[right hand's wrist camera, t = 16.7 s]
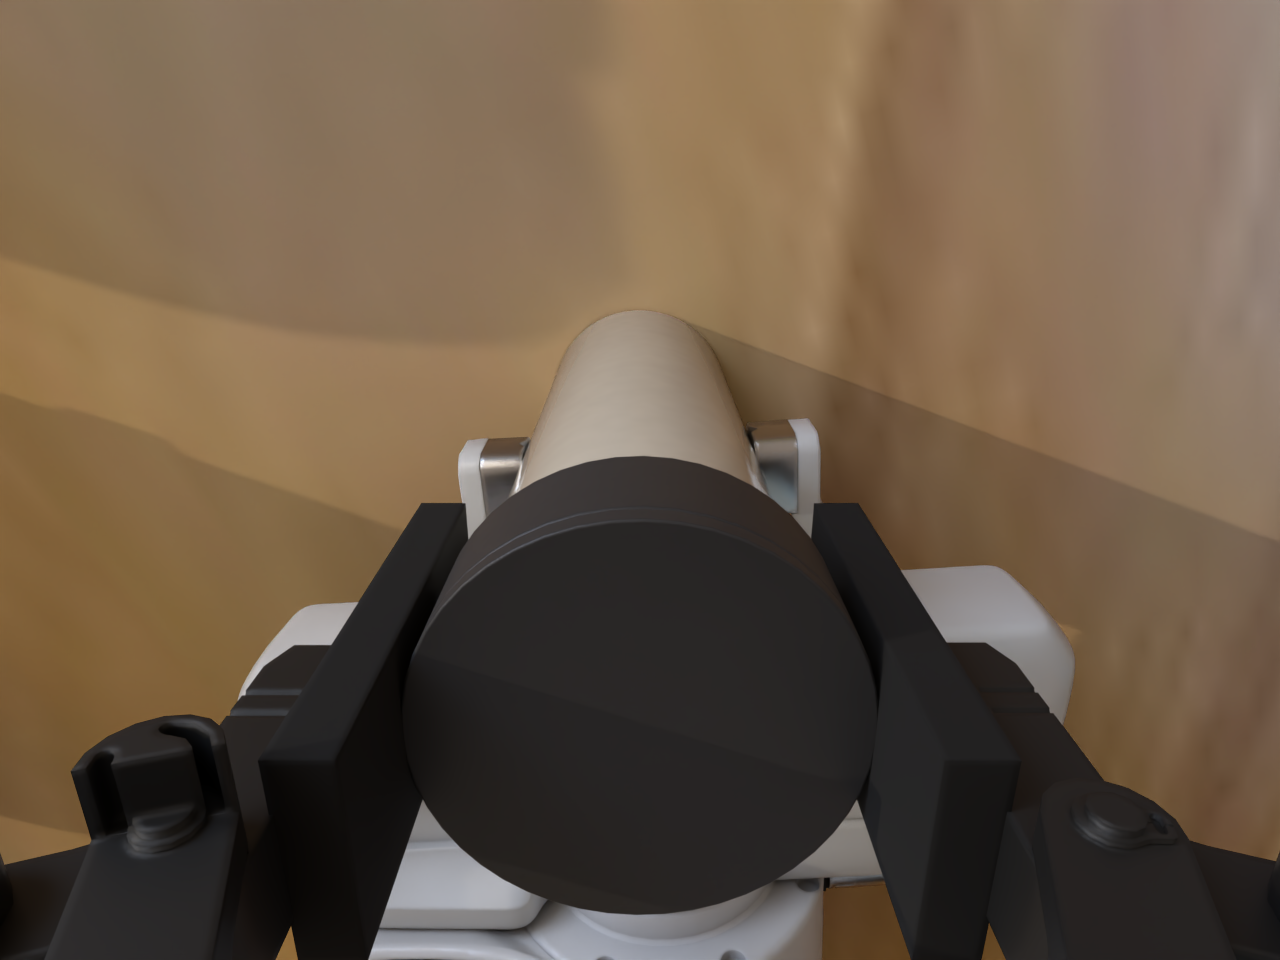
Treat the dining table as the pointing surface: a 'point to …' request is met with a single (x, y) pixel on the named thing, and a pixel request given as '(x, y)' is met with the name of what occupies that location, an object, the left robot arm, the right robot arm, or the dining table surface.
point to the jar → (639, 402)
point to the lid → (639, 691)
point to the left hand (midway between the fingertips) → (635, 435)
